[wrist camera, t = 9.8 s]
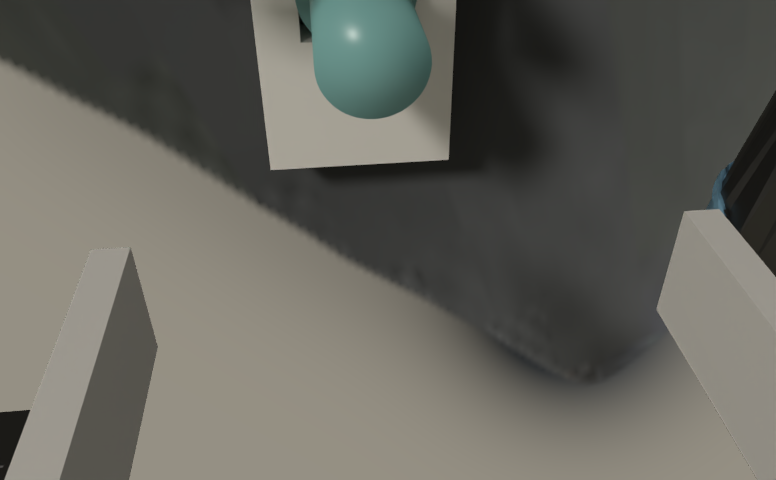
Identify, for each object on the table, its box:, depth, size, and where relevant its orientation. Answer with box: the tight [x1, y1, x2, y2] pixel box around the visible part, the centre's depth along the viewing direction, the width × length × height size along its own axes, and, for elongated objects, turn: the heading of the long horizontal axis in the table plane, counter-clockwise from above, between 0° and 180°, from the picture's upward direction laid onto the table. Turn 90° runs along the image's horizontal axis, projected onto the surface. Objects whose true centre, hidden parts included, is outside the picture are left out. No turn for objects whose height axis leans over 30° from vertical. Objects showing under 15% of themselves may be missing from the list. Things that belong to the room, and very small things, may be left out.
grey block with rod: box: [251, 0, 456, 170], centre depth 29 cm, size 9×18×14 cm, turn 0°
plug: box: [295, 0, 432, 119], centre depth 29 cm, size 5×5×11 cm
